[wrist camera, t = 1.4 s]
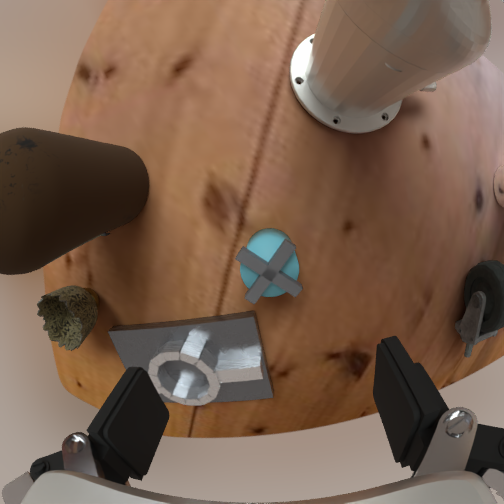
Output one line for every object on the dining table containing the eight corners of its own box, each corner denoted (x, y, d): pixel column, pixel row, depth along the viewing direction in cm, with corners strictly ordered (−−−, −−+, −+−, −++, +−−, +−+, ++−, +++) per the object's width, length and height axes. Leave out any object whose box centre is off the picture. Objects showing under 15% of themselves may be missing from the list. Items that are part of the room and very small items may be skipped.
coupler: (289, 224, 28) (294, 238, 21) (297, 269, 29) (304, 296, 23) (241, 233, 29) (232, 250, 22) (251, 277, 30) (246, 306, 23)
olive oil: (91, 136, 27) (-94, 130, 3) (164, 149, 27) (-67, 122, 3) (77, 219, 30) (-91, 285, 5) (144, 241, 30) (-42, 364, 6)
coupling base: (254, 310, 31) (252, 328, 27) (273, 390, 34) (273, 410, 30) (112, 326, 33) (98, 340, 29) (146, 395, 36) (138, 411, 33)
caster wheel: (456, 257, 28) (446, 354, 31) (501, 274, 19) (479, 387, 21) (482, 251, 28) (472, 344, 30) (527, 265, 18) (505, 372, 21)
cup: (118, 323, 33) (88, 355, 25) (80, 320, 34) (49, 347, 26) (105, 272, 31) (68, 296, 23) (66, 272, 32) (30, 294, 24)
